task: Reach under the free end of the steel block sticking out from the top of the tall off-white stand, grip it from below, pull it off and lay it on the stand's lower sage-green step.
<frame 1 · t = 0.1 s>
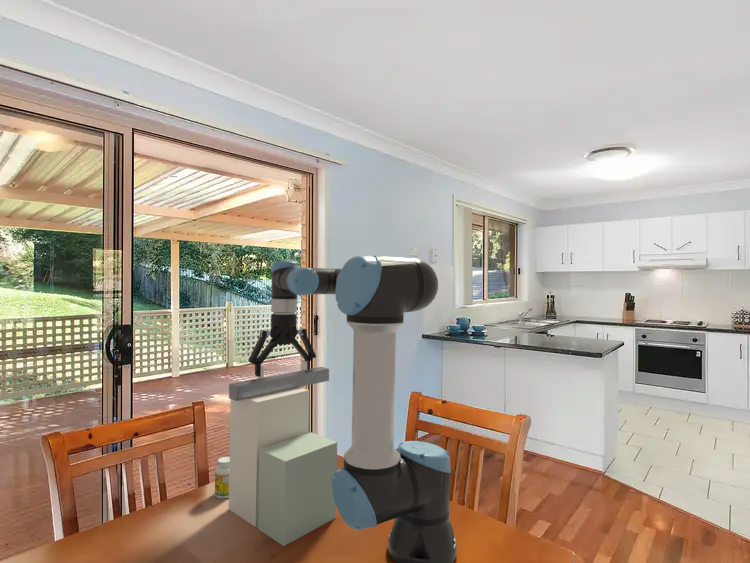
hand: (282, 384, 131), 28 cm above the table, tool pointing down, fingers open, 13 cm apart
steel block: (283, 388, 118), point 30 cm above the table, touching two-step stand
two-step stand: (268, 505, 116), on the table
supplement bottle: (224, 494, 121), on the table
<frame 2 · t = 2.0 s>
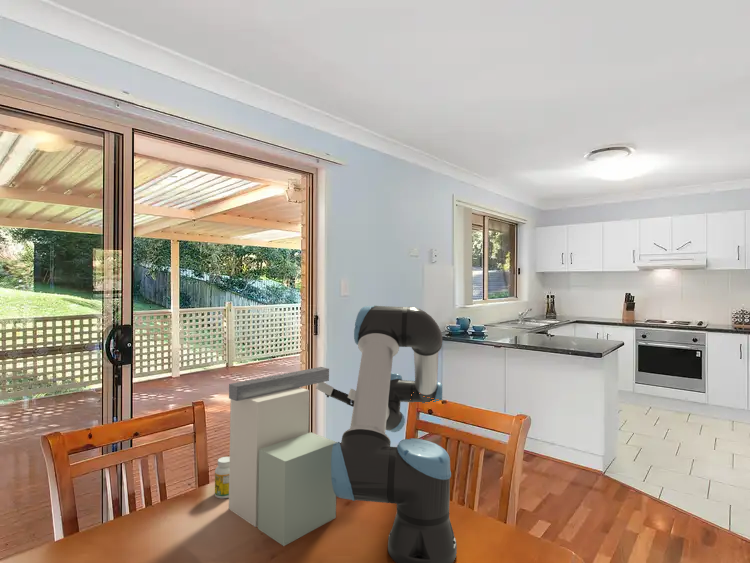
hand: (333, 388, 132), 27 cm above the table, tool pointing upward, fingers open, 13 cm apart
nothing on the table moved.
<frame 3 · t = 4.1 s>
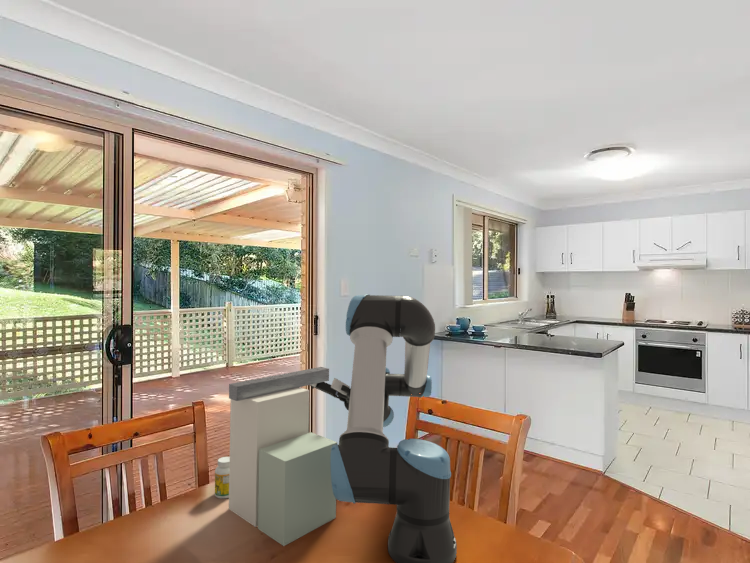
hand: (317, 378, 128), 31 cm above the table, tool pointing upward, fingers open, 13 cm apart
nothing on the table moved.
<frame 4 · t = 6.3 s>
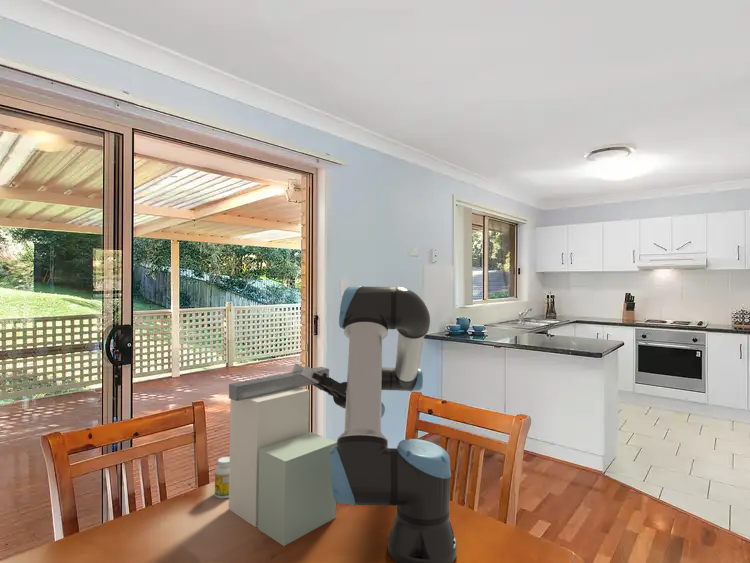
hand: (299, 369, 122), 35 cm above the table, tool pointing upward, fingers closed on steel block, 3 cm apart
steel block: (283, 388, 118), point 30 cm above the table, touching gripper, two-step stand
everything else where it was.
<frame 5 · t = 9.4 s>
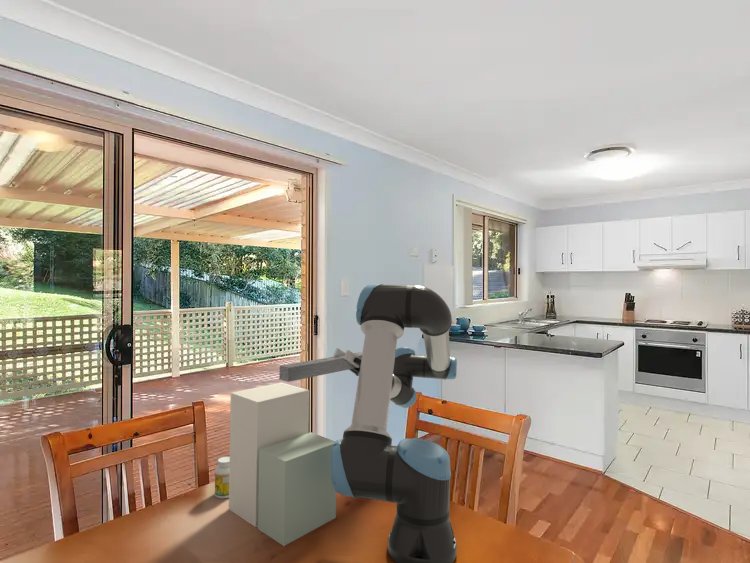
hand: (341, 353, 126), 38 cm above the table, tool pointing upward, fingers closed on steel block, 3 cm apart
steel block: (327, 372, 122), point 34 cm above the table, touching gripper
everything else where it was.
when the fingers open (25 cm above the table, at t = 12.5 s): steel block drops 2 cm, resting on two-step stand.
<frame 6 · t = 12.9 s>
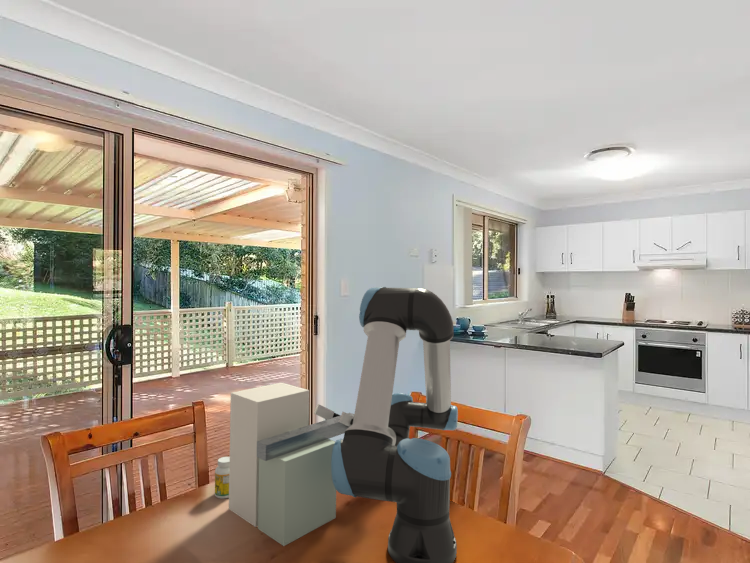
hand: (328, 412, 115), 25 cm above the table, tool pointing upward, fingers open, 9 cm apart
steel block: (312, 441, 111), point 19 cm above the table, touching two-step stand
everything else where it was.
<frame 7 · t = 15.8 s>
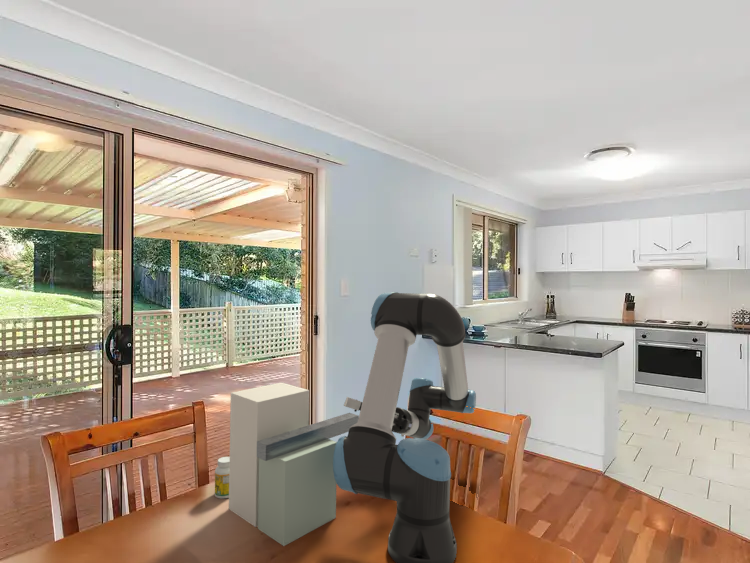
hand: (363, 408, 124), 23 cm above the table, tool pointing upward, fingers open, 13 cm apart
nothing on the table moved.
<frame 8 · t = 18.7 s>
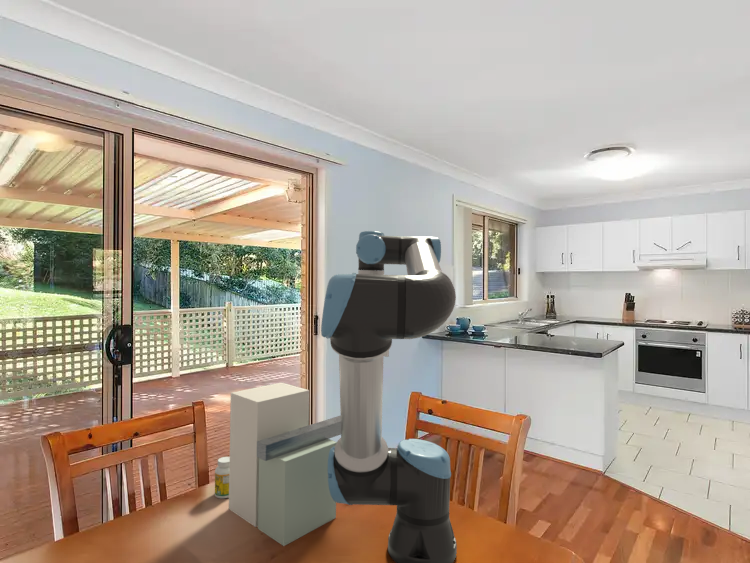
hand: (369, 359, 128), 37 cm above the table, tool pointing down, fingers open, 13 cm apart
nothing on the table moved.
at the end: steel block inside the target area (0.0 cm from its centre), point 19.0 cm above the table; steel block tilted 0°; the gripper is holding nothing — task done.
